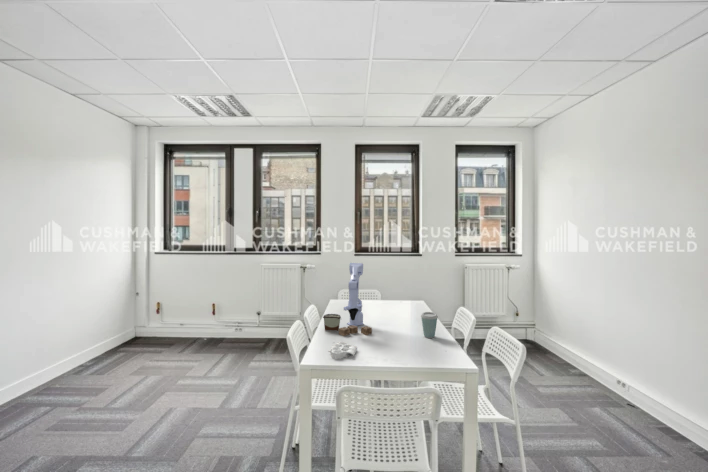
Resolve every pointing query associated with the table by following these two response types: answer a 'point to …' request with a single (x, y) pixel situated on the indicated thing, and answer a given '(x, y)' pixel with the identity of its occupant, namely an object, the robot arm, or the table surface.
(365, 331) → the block one
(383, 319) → the table surface
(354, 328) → the plain block
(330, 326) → the food container
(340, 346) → the grey egg carton
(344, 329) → the block two
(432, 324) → the disposable coffee cup
